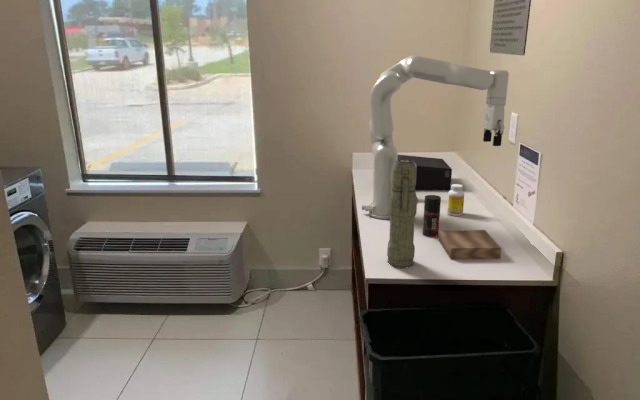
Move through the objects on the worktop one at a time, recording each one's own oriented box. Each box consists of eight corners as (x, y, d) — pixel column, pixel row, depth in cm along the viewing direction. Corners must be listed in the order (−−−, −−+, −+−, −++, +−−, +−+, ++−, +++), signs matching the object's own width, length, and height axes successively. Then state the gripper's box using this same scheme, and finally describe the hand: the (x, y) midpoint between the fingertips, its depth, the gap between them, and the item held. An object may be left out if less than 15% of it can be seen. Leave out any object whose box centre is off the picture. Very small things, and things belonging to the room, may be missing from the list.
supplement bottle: (463, 216, 208) (465, 187, 204) (447, 216, 209) (449, 187, 206) (462, 212, 214) (464, 183, 211) (446, 211, 216) (448, 183, 212)
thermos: (390, 270, 158) (394, 165, 148) (384, 256, 169) (387, 157, 159) (417, 269, 159) (423, 164, 148) (409, 255, 170) (414, 156, 160)
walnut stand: (450, 259, 166) (451, 248, 165) (438, 240, 183) (439, 230, 182) (500, 258, 167) (501, 247, 165) (483, 240, 183) (484, 230, 182)
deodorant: (429, 238, 185) (431, 200, 181) (419, 233, 190) (421, 196, 186) (441, 235, 188) (444, 198, 183) (431, 230, 193) (433, 194, 188)
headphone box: (377, 178, 272) (378, 153, 268) (441, 178, 271) (442, 153, 267) (381, 190, 249) (381, 163, 245) (450, 190, 247) (452, 163, 243)
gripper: (478, 99, 205) (475, 140, 210) (495, 104, 189) (491, 147, 194) (496, 99, 206) (491, 139, 211) (514, 103, 189) (509, 147, 194)
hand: (491, 143), depth 202 cm, fingers open, 9 cm apart
